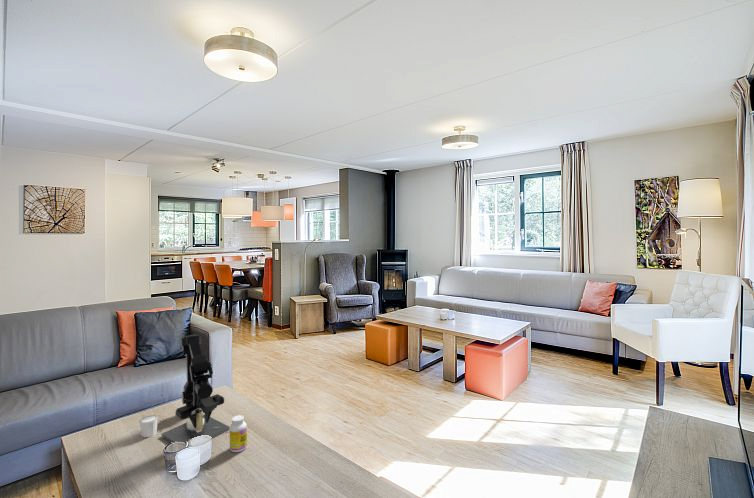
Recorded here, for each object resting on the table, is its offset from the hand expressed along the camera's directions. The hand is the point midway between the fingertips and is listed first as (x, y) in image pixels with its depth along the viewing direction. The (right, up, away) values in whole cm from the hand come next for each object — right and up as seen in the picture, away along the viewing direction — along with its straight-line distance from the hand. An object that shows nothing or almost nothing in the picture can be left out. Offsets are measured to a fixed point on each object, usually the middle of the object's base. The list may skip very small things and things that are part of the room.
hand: (200, 425), depth 158 cm
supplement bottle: (+19, -6, -7) cm, 21 cm away
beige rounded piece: (-3, -3, +3) cm, 5 cm away
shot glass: (-25, -7, +5) cm, 27 cm away
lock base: (-5, -6, +5) cm, 9 cm away
